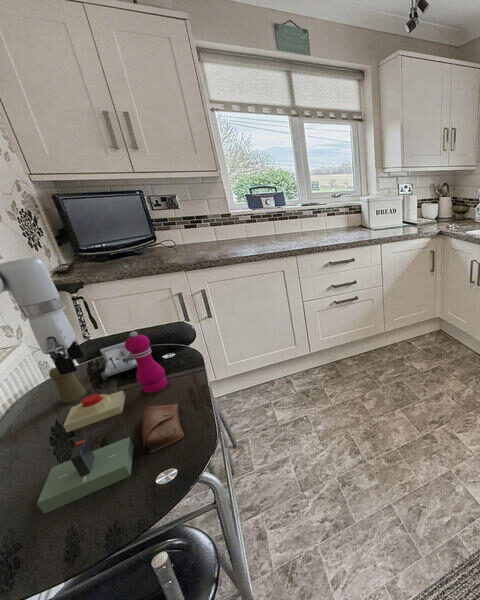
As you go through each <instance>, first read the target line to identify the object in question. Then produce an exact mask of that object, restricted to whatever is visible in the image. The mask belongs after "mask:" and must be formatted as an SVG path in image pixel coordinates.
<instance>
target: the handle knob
mask: <svg viewBox="0 0 480 600" xmlns="http://www.w3.org/2000/svg"><path fill="white" fill-rule="evenodd" d="M92 451H93V450H92V449H91V447H90V446H89V443H88V441H87V440H86V439H82V440H79V441H76V442H75V445H74V448H73V450H72V453H71V455H70V459H69V460H71V461H72V463H73V465H74V466H75V468H76V470H77V471H78V473H79V475H80V476H83V475H86V474H88V473H90V472H91V468H92V465H93V462H94V458H95V456H94V454H93V452H92Z"/></svg>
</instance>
